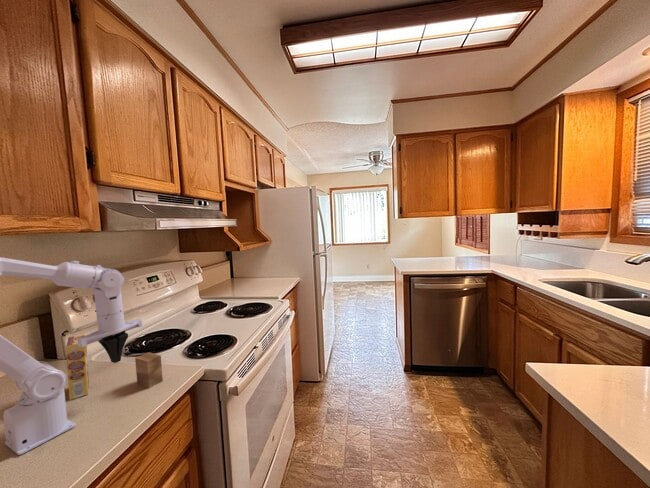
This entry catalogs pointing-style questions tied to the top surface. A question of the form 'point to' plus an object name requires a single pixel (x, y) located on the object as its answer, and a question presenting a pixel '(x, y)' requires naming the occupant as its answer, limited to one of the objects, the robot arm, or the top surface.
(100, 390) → the top surface
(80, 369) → the candy box
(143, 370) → the walnut block
